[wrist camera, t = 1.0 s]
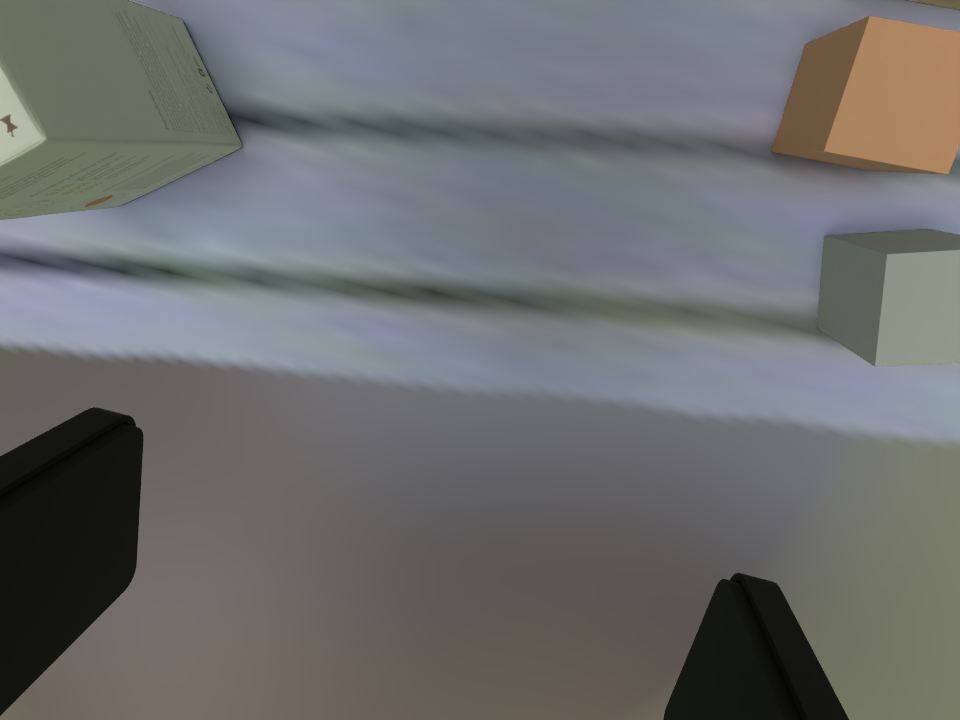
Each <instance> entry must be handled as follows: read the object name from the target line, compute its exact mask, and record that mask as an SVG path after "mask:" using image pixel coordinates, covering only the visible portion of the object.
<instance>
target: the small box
mask: <svg viewBox="0 0 960 720" xmlns="http://www.w3.org/2000/svg"><path fill="white" fill-rule="evenodd" d="M241 147H242V144H241V141H240V139H239V137H238V135H237V133H236V131H235V129H234V127H233V125H232V123H231V121H230V118H229V116H228V114H227V112H226V110H225V108H224V106H223V104H222V102H221V100H220V98H219V95H218V93H217V91H216V89H215V87H214V85H213V83H212V81H211V79H210V77H209V75H208V73H207V71H206V69H205V66H204V64H203V62H202V60H201V58H200V56H199V54H198V52H197V50H196V48H195V46H194V44H193V42H192V40H191V38H190V36H189V33H188V31H187V29H186V27H185V25H184V23H183V21H182V20H181V19H179V18H176V17H173V16H171V15H168V14H165V13H162V12H160V11H156V10H153V9H150V8H148V7H145V6H142V5H139V4H136V3H133V2H131V1H128V0H0V220H4V219H14V218H24V217H31V216H39V215H48V214H56V213H65V212H75V211H84V210H94V209H103V208H113V207H119V206H121V205H123V204H125V203H127V202H130V201H132V200H134V199H136V198H138V197H140V196H143V195H145V194H147V193H149V192H151V191H153V190H155V189H158V188H160V187H162V186H164V185H166V184H168V183H170V182H172V181H174V180H176V179H178V178H180V177H183V176H185V175H187V174H189V173H191V172H193V171H195V170H197V169H199V168H201V167H203V166H205V165H207V164H210V163H212V162H214V161H216V160H218V159H220V158H222V157H224V156H226V155H228V154H230V153H232V152H234V151H236V150H238V149H240V148H241Z"/></svg>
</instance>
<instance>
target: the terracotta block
mask: <svg viewBox="0 0 960 720" xmlns="http://www.w3.org/2000/svg"><path fill="white" fill-rule="evenodd" d="M959 146H960V32H958V31H953V30H947V29H941V28H936V27H930V26H924V25H919V24H913V23H907V22H901V21H896V20H890V19H884V18H879V17H873V16H869V17H866V18H864V19H862V20H859V21H857V22H855V23H853V24H850V25H848V26H846V27H844V28H841V29H839V30H837V31H834V32H832V33H830V34H828V35H825V36H823V37H821V38H819V39H816V40H814V41H812V42H809V43H807V44H805V46H804V50H803V53H802V56H801V59H800V62H799V66H798V69H797V72H796V75H795V78H794V82H793V85H792V88H791V91H790V94H789V97H788V101H787V104H786V107H785V110H784V113H783V117H782V120H781V123H780V126H779V129H778V133H777V136H776V139H775V142H774V145H773V148H772V152H774V153H780V154H785V155H790V156H796V157H801V158H806V159H812V160H817V161H822V162H828V163H833V164H838V165H844V166H849V167H854V168H860V169H865V170H870V171H889V172H909V173H928V174H949V171H950V169H951V166H952V164H953V161H954V159H955V156H956V154H957V151H958V149H959Z"/></svg>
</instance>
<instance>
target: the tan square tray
mask: <svg viewBox="0 0 960 720" xmlns="http://www.w3.org/2000/svg"><path fill="white" fill-rule="evenodd" d="M907 1H913V2H919V3H924V4H930V5H936V6H942V7H947V8H953V9H959V10H960V0H907Z"/></svg>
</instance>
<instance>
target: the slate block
mask: <svg viewBox="0 0 960 720" xmlns="http://www.w3.org/2000/svg"><path fill="white" fill-rule="evenodd" d="M817 329H819V330H820V331H822V332H823V333H825V334H826V335H828V336H829V337H831V338H832V339H834V340H835V341H837V342H838V343H840V344H841V345H843V346H844V347H846V348H847V349H849V350H851V351H852V352H854V353H855V354H857V355H858V356H860V357H861V358H863V359H864V360H866V361H867V362H869V363H870V364H872V365H873V366H875V367H877V366H902V365H927V364H952V363H960V235H957V234H952V233H947V232H941V231H936V230H931V229H918V230H902V231H887V232H872V233H856V234H841V235H826V236H824V242H823V255H822V268H821V280H820V293H819V306H818V318H817Z"/></svg>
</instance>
